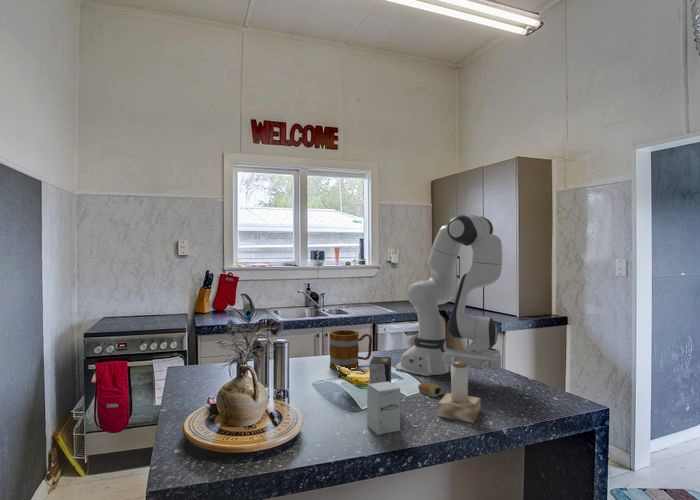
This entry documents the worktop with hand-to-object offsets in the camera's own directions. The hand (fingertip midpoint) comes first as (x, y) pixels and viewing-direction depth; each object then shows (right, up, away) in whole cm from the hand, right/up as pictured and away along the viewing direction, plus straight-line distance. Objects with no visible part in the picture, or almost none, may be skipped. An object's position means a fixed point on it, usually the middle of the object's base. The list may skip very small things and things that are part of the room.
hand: (467, 364), depth 147 cm
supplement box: (-31, -13, -22) cm, 40 cm away
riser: (-6, -12, -11) cm, 17 cm away
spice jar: (-6, -8, -11) cm, 15 cm away
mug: (-40, -12, +43) cm, 60 cm away
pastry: (-11, -13, +8) cm, 19 cm away
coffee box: (-30, -13, -7) cm, 34 cm away
